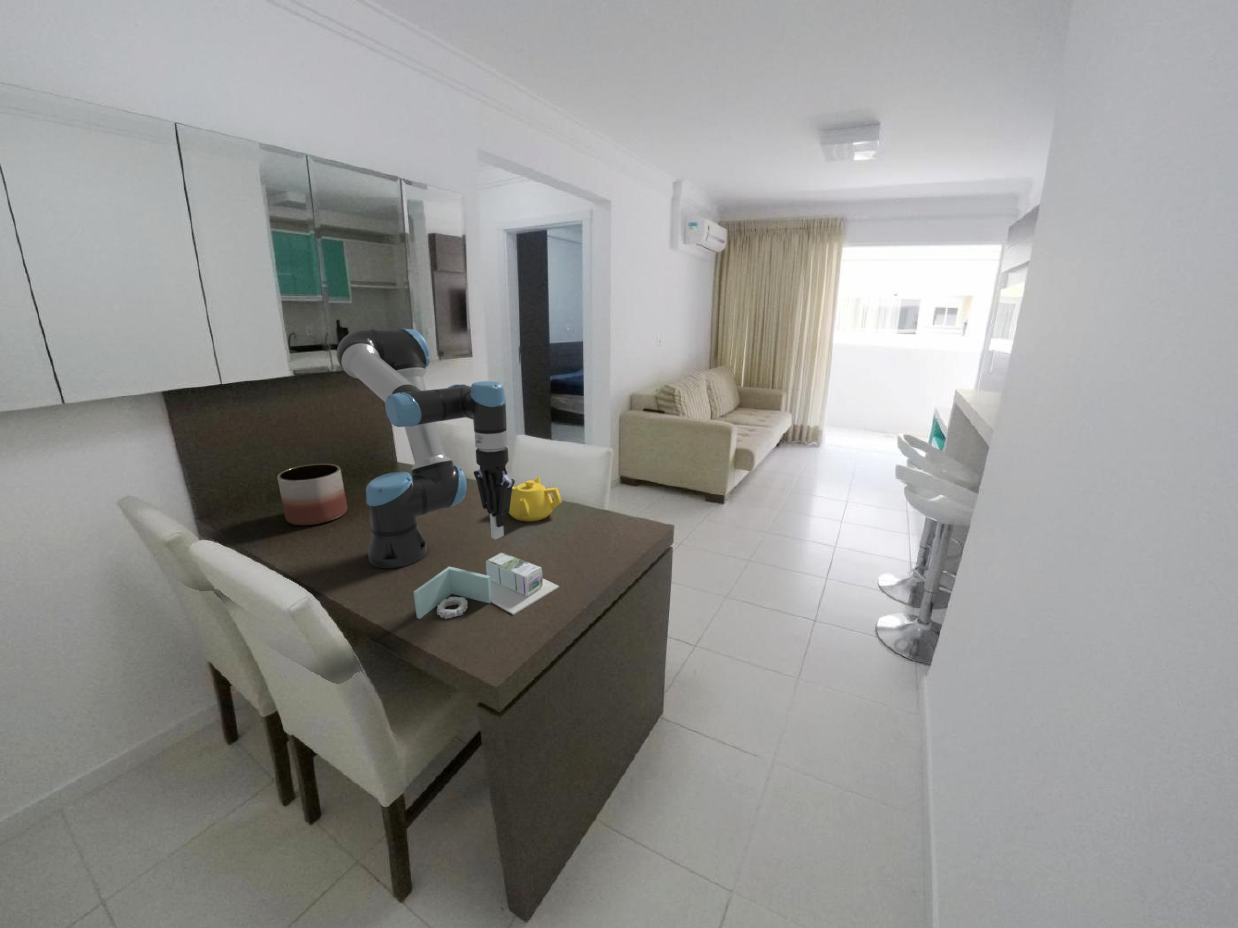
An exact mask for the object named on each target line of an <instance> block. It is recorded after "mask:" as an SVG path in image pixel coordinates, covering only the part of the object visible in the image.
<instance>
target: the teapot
mask: <svg viewBox="0 0 1238 928" xmlns="http://www.w3.org/2000/svg"><path fill="white" fill-rule="evenodd" d="M551 494H552V496H551ZM552 497H553V499H552ZM562 502H563V500H562V496H561V494H560V491H559V488H558V487H550V488H549V487H548V488H546V487H545V485H543V484H542V483H541V477H535V478H534V480H532V479H531V480H529V479H528V480H526V481H524V482H523V483H520V484H518V485H517V486H514V485H513V487H512V494H511V502H510V510H509V512H508V514H509V515H510V516H511V517H512V518H513V519H515V520H517V521H520V522H521V521H522V522H537V521H541V520H544V519H546V518H548V517H549V515H551V513H552V512H553V510H554V509H555V508H556V507H558V506H559V505H561V503H562Z"/></svg>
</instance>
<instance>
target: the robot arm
mask: <svg viewBox="0 0 1238 928" xmlns="http://www.w3.org/2000/svg"><path fill="white" fill-rule="evenodd" d="M430 355H431V353H430V349H429V346H428V343H427V341H426V340H425V338H424V337H423V335H422V334H421V333H420V332H418V331H417V330H415V329H412V328H402V327H398V328H379V329H378V328H376V329H375V328H374V329H373V328H371V329H369V328H367V329H364V328H363V329H358V330H355V331H352V332H350V333H348V334H347V335H345V336H344V337H343V338H342V339H341V341H340V342H339V343H338V345H337V348H336V360H337V362H338V365H339V367H340V368H341V369H342V370H343V371H344V372H345V373H346V374H347V375H348V376H350V377H352V378H353V379H354V378H355V379H359V381H361V382H362V383H363V384H364V385H365V386H366V387H368V388H369V389H370V391H371V392H373V393H374V394H375V395H376V397H378V398H380V399H381V400H382V401H383V402H384V403H385V405H384V406H385V407H384V408H385V413H386V415H387V416H386V417H387V418H388V419H389V423H390V424H391V425H392V426H394V427H395V428H403V427H404V429H405V434H406V437H407V441H408V445H409V447H410V451H411V454H412V457H413V461H414V464H413V465H412V467H411V469H410V471H411V474H410V473H409V472H407V471H397V472H396V471H395V472H392V471H391V472H389V473H384V474H382V475H380V476H377V477H375V478H374V479H372V480H371V481H370V482H368V483H367V485H366V488H365V494H366V495H365V496H366V499H365V503H366V505H367V509H368V516H369V517H368V518H369V523H370V530H371V538H370V542H369V547H368V551H367V557H368V561H369V564H370V565H371V566H373V567H376V568H380V569H394V568H397V569H398V568H402V567H406V566H409V565H412V564H414V563H416V562H418V561H420V560H421V559H423V557H425V556H426V554H427V552H428V547H427V543H426V540H425V538H424V536H423V534H422V532H421V530H420V528H419V526H418V518H417V517H420V516H423V515H427V514H429V513H434V512H438V511H440V510H445V509H448V508H451V507H453V506H456V505H459V504H461V503H462V501H464V499H465V496H466V493H467V479H466V474H465V473H464V471H463V469H462V467H460V466H459V465H456V464H454V463H453V460H452V458H450V457H449V456H446V453H445V450H444V447H443V443H442V440H441V436H440V433H439V429H438V426H437V422H443V421H444V422H445V421H451V420H457V419H463V418H467V419H470V420H473V431H474V444H475V445H474V447H475V448H476V450H475V458H476V464H477V465H478V466H479V469H478V470H477V469H476V470H474V471H473V476H474V477H475V480H476V484H477V488H478V493H479V496H480V501H481V502H480V503H481V505H482V508H483V509H484V510H486V511H487V513H488V518H489V524H490V535H491V536H490V537H491V539H493V540H497V539H500V538H502V537H504V536H505V534H504V524H505V522H504V521H505V520H504V519H505V518H504V515H506V514H509V510H510V502H511V495H512V493H513V492H512V487H513V486H514V485H515V482H516V481H515V479H514V478H510V477H509V476H508V471H507V467H506V465H508V463H509V448H508V445H509V440H508V428H507V404H506V403H507V400H506V393H505V387H504V386H505V385H503V384H502V383H501V382H499V381H492V380H491V381H489V380H487V381H476V382H473V383H472V384H471V385H466V384H463V383H462V384H456V383H455V384H452V385H450V386H448V387H445V388H436V389H427V388H426V385H425V381H424V376H425V375H426V373H427V368H428V367H429V364H430V361H431V357H430Z"/></svg>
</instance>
